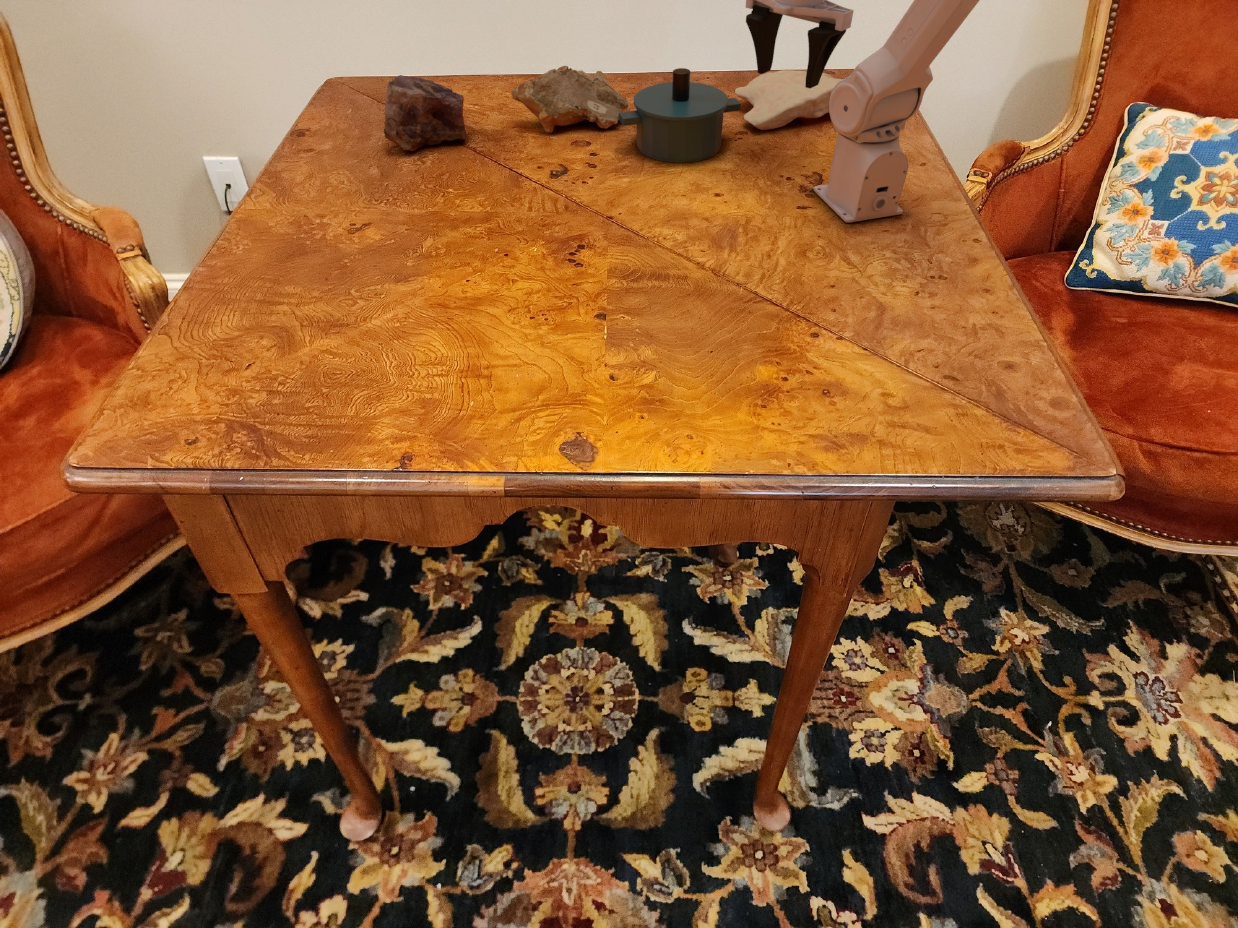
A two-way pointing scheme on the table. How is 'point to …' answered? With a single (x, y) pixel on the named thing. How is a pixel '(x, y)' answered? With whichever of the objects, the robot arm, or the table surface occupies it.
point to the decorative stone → (785, 98)
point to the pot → (678, 135)
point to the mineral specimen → (571, 98)
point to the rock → (422, 113)
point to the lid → (680, 99)
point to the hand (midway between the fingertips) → (787, 79)
